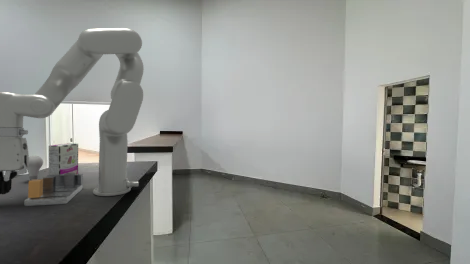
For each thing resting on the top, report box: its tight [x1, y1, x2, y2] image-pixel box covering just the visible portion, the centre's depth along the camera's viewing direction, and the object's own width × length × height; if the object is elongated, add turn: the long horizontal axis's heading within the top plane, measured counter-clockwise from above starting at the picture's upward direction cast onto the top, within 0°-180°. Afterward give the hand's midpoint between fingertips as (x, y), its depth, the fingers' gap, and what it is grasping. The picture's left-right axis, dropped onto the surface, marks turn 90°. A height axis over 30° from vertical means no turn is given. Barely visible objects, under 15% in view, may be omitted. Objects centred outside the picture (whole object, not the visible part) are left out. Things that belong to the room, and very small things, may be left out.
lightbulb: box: [26, 155, 44, 181], centre depth 99 cm, size 6×6×11 cm
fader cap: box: [27, 178, 43, 198], centre depth 75 cm, size 3×2×5 cm
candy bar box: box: [48, 142, 79, 175], centre depth 99 cm, size 11×5×16 cm, turn 179°
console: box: [24, 173, 84, 207], centre depth 82 cm, size 11×18×7 cm, turn 19°
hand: (3, 193), depth 72 cm, fingers closed
